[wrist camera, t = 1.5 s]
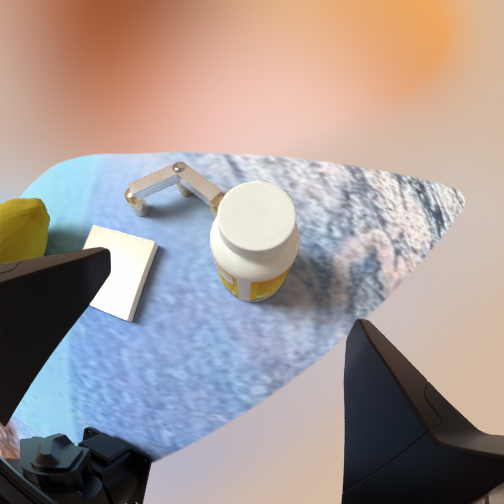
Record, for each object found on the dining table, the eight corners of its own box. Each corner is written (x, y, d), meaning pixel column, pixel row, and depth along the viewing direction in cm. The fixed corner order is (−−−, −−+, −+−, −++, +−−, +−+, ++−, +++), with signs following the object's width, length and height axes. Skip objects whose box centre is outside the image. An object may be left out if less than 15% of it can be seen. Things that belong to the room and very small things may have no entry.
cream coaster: (131, 322, 21) (127, 320, 20) (71, 296, 21) (66, 293, 20) (158, 245, 23) (155, 241, 22) (98, 229, 24) (93, 224, 23)
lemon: (8, 305, 21) (-43, 285, 13) (5, 245, 23) (-36, 217, 16) (74, 271, 22) (22, 237, 15) (67, 207, 25) (27, 165, 17)
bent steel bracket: (222, 236, 24) (218, 215, 20) (133, 215, 24) (119, 195, 21) (236, 194, 25) (234, 170, 22) (151, 177, 26) (141, 155, 23)
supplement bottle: (211, 292, 22) (186, 247, 13) (230, 233, 24) (221, 161, 15) (277, 310, 22) (297, 277, 13) (292, 249, 23) (316, 183, 14)
